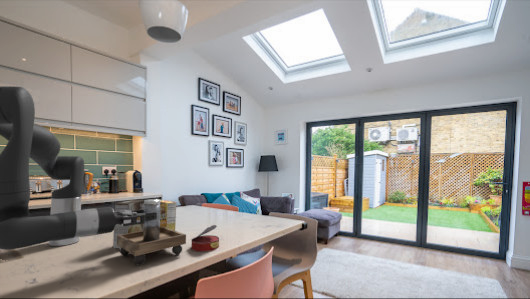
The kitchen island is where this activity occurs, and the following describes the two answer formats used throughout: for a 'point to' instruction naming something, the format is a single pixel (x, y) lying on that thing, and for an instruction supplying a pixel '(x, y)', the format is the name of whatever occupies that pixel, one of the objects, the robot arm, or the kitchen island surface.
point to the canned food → (205, 241)
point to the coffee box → (132, 228)
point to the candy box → (168, 214)
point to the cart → (150, 243)
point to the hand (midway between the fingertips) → (150, 213)
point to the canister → (152, 226)
